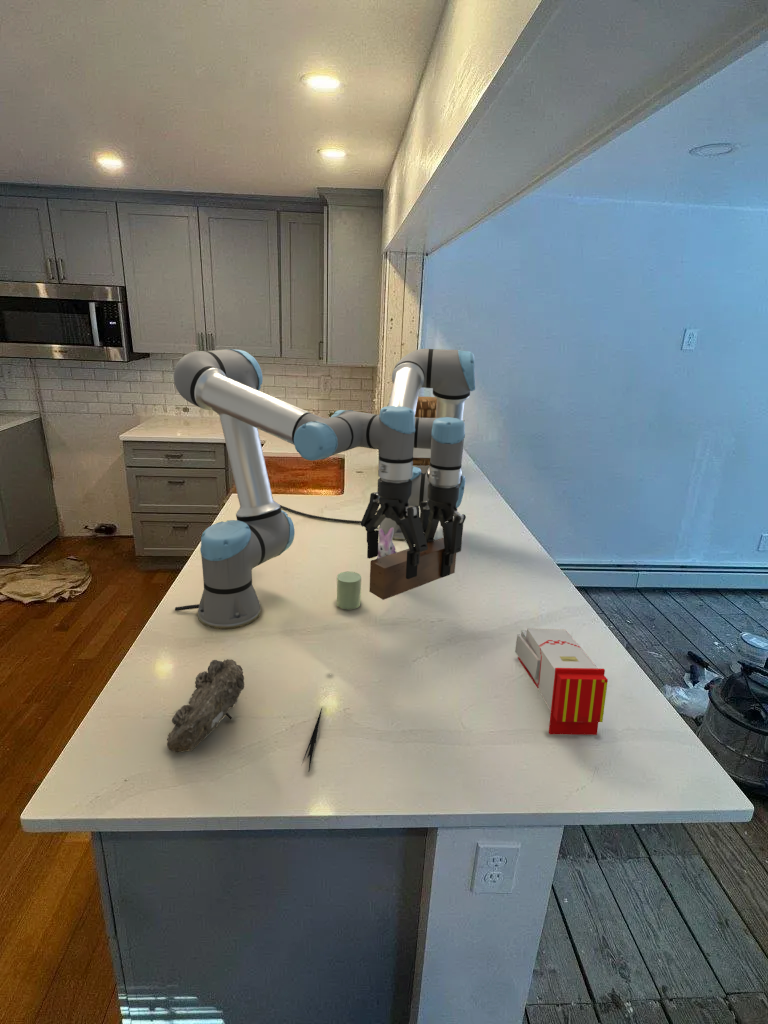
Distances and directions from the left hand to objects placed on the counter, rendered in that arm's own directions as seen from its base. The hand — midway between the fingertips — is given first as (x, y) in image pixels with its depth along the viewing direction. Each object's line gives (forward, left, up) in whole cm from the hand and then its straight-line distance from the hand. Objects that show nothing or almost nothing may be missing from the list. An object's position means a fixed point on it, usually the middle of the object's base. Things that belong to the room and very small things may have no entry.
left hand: (391, 566), depth 131 cm
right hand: (+9, +13, -6) cm, 17 cm away
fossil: (-26, -38, -19) cm, 49 cm away
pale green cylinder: (-14, +12, -19) cm, 26 cm away
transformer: (-18, +146, -19) cm, 148 cm away
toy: (+38, -10, -19) cm, 43 cm away
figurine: (-7, +31, -19) cm, 37 cm away
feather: (-6, -33, -19) cm, 38 cm away
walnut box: (+4, +7, -6) cm, 10 cm away
